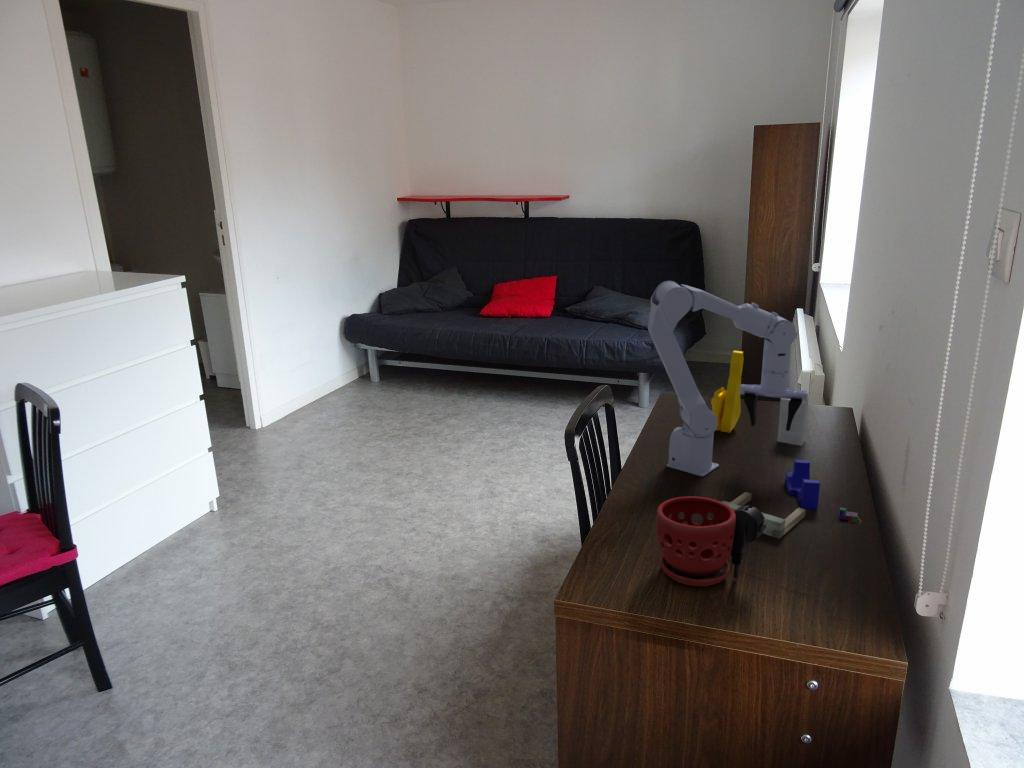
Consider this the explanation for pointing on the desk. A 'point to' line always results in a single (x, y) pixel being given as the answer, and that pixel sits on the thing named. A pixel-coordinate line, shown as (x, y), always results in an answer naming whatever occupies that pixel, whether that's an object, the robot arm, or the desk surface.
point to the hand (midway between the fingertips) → (770, 426)
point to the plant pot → (695, 540)
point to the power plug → (745, 532)
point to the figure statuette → (729, 396)
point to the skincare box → (797, 426)
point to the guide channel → (771, 517)
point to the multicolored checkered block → (849, 516)
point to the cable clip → (803, 484)
